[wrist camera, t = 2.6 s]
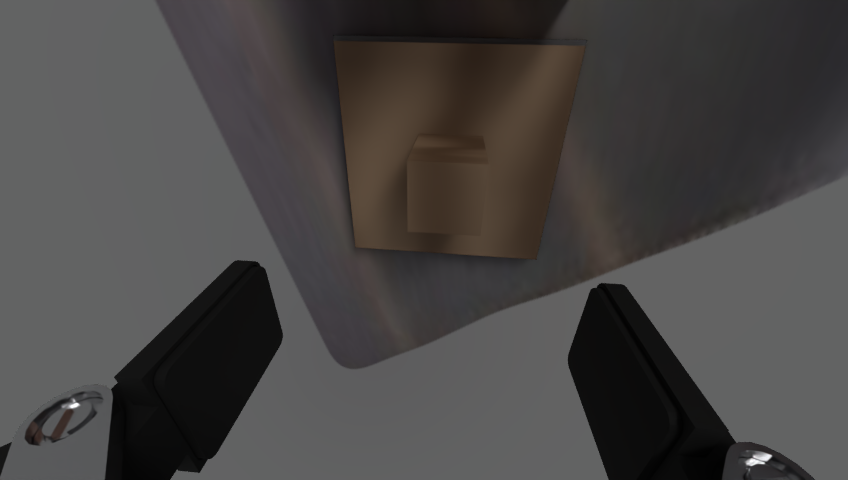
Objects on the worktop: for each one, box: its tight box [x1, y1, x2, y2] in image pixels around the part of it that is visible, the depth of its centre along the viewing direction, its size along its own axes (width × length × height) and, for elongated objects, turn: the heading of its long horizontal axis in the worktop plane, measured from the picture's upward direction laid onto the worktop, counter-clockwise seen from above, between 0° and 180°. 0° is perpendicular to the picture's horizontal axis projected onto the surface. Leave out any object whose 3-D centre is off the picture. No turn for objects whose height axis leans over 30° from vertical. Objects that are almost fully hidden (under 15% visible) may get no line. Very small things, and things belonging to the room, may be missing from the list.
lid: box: [333, 41, 586, 260], centre depth 18 cm, size 12×12×6 cm
